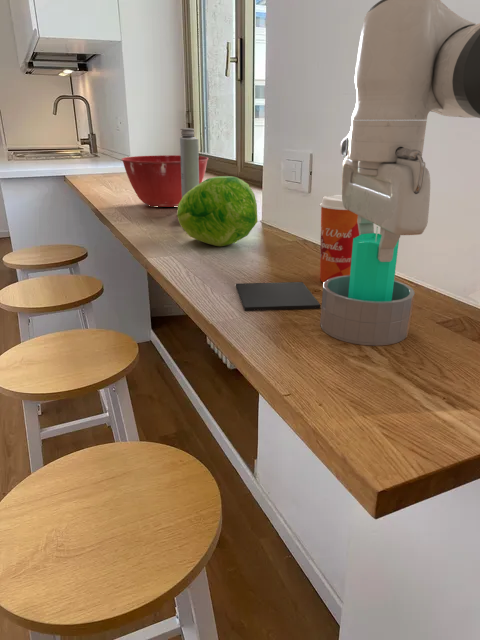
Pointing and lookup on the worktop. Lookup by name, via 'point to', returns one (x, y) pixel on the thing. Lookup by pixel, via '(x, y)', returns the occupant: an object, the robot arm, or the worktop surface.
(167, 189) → the mixing bowl
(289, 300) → the coaster
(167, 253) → the worktop surface
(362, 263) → the candle
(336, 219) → the coffee cup
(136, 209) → the worktop surface
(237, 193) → the lettuce
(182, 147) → the flask
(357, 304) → the tin
